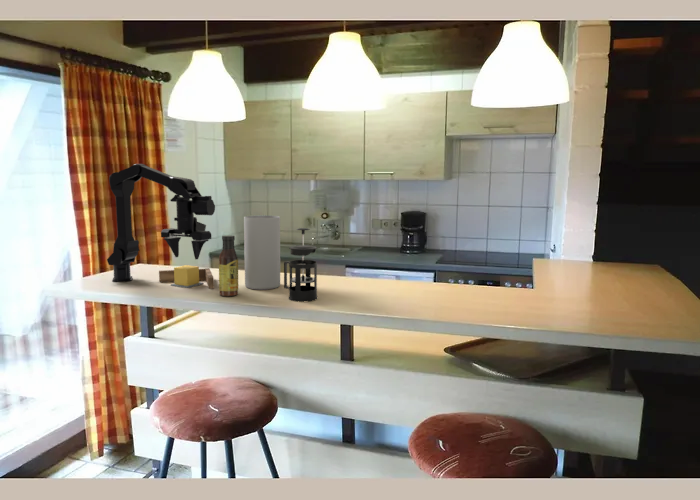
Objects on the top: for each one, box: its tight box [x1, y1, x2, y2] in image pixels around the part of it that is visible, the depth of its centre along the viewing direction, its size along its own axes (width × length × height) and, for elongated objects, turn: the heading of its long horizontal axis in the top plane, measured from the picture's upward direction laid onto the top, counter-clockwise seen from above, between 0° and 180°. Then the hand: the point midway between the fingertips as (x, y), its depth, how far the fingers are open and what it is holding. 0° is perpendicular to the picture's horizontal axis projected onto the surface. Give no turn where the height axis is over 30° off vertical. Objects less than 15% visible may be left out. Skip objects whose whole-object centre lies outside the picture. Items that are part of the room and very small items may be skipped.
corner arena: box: [158, 267, 215, 290], centre depth 185 cm, size 18×18×4 cm
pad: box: [170, 281, 204, 289], centre depth 185 cm, size 8×8×1 cm
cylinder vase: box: [243, 214, 281, 291], centre depth 183 cm, size 12×12×25 cm
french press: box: [283, 227, 318, 303], centre depth 166 cm, size 12×9×23 cm
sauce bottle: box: [218, 234, 239, 297], centre depth 170 cm, size 7×6×20 cm
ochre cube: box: [173, 264, 200, 286], centre depth 185 cm, size 6×6×6 cm
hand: (186, 258), depth 184 cm, fingers open, 9 cm apart
